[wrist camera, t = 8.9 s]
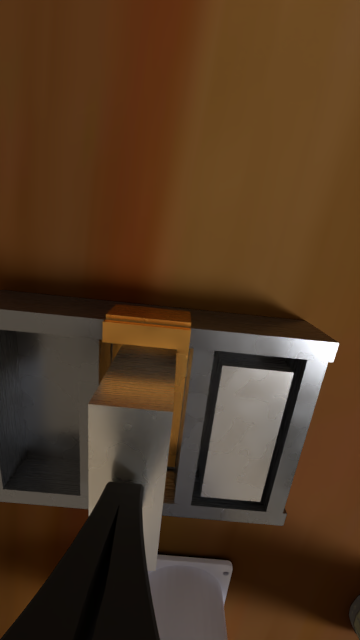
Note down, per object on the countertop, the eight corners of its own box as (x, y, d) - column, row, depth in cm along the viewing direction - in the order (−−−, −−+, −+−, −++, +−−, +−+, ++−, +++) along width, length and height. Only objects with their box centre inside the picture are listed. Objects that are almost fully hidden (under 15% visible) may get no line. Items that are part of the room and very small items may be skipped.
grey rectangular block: (164, 462, 17) (155, 571, 12) (120, 458, 17) (88, 565, 12) (177, 345, 15) (173, 412, 9) (124, 340, 15) (88, 404, 9)
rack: (265, 475, 19) (284, 530, 15) (18, 453, 19) (-21, 505, 15) (306, 317, 15) (344, 341, 12) (1, 286, 15) (-56, 301, 11)
